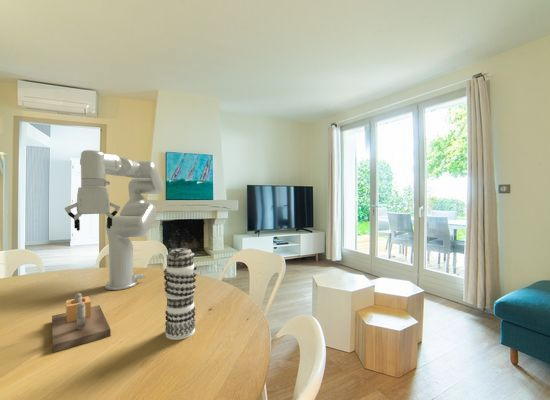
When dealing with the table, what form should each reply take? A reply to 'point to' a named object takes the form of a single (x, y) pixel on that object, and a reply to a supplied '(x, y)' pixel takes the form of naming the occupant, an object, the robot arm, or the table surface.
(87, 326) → the post board
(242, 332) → the table surface
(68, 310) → the collar
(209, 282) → the table surface
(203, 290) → the table surface
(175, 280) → the decorative candle
